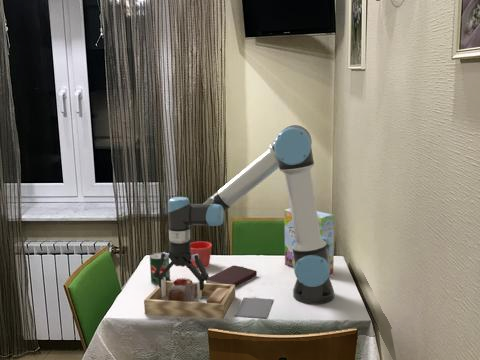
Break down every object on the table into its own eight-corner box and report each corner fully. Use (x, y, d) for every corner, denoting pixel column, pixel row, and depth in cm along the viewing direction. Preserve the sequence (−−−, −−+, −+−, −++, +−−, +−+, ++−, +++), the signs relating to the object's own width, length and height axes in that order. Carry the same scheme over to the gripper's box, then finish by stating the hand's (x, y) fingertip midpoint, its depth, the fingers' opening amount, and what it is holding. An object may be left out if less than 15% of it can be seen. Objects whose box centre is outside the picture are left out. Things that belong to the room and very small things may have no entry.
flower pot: (198, 271, 223) (197, 249, 221) (183, 265, 231) (182, 244, 230) (217, 265, 230) (216, 244, 229) (202, 260, 238) (201, 240, 237)
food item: (175, 297, 195) (174, 272, 193) (196, 298, 194) (195, 273, 193) (166, 312, 182) (165, 285, 180) (188, 313, 181) (187, 286, 179)
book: (257, 277, 216) (257, 269, 215) (229, 292, 200) (229, 284, 200) (233, 272, 223) (233, 264, 223) (204, 285, 208) (204, 278, 207)
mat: (272, 300, 190) (272, 299, 190) (266, 318, 175) (266, 317, 175) (243, 298, 192) (243, 297, 192) (234, 316, 177) (234, 315, 177)
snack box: (283, 266, 228) (282, 209, 224) (296, 261, 234) (296, 206, 230) (321, 278, 212) (322, 217, 208) (334, 272, 218) (335, 213, 214)
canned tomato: (169, 276, 217) (168, 251, 215) (171, 283, 210) (170, 257, 208) (150, 278, 215) (148, 253, 214) (151, 285, 208) (150, 259, 206)
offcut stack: (231, 299, 192) (230, 287, 191) (221, 316, 177) (221, 303, 177) (215, 298, 193) (214, 286, 192) (204, 315, 179) (203, 302, 178)
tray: (235, 297, 194) (235, 284, 193) (223, 319, 175) (223, 305, 174) (163, 293, 199) (163, 280, 199) (144, 313, 181) (144, 300, 180)
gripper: (142, 241, 183) (145, 298, 186) (210, 245, 178) (212, 303, 181) (150, 236, 190) (153, 290, 194) (216, 239, 185) (217, 295, 189)
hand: (181, 297), depth 187 cm, fingers open, 13 cm apart
